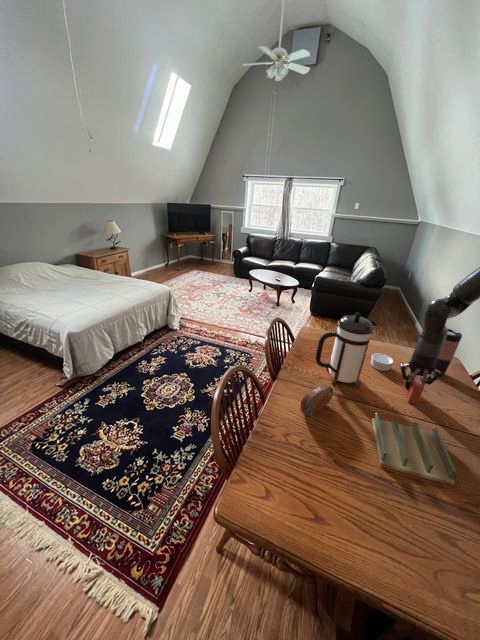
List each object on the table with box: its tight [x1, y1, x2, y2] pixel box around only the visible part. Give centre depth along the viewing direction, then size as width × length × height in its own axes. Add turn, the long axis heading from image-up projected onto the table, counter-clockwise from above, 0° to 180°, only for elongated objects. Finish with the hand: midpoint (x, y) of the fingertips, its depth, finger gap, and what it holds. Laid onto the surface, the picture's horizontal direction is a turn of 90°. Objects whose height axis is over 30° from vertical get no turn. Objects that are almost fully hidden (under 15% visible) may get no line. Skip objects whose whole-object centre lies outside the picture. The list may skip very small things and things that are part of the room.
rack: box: [371, 412, 457, 487], centre depth 81 cm, size 18×18×4 cm
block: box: [402, 371, 425, 405], centre depth 102 cm, size 3×9×8 cm, turn 163°
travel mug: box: [429, 328, 463, 378], centre depth 115 cm, size 8×8×20 cm
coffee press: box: [315, 312, 375, 388], centre depth 106 cm, size 17×16×30 cm
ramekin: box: [370, 352, 394, 372], centre depth 121 cm, size 9×9×4 cm
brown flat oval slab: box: [299, 383, 334, 417], centre depth 94 cm, size 15×3×8 cm, turn 126°
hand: (412, 389), depth 103 cm, fingers closed on block, 3 cm apart
